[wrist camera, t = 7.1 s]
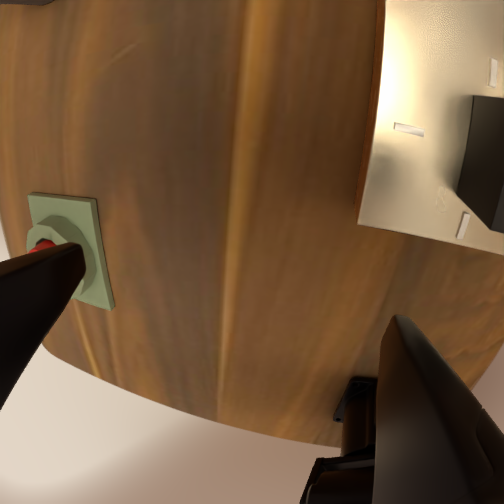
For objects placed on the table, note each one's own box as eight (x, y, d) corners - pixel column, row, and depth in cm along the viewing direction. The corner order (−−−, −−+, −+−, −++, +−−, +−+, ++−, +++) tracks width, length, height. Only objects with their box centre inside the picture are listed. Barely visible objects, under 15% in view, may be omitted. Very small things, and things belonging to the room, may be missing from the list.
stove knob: (485, 203, 12) (524, 241, 9) (456, 195, 13) (491, 233, 9) (504, 106, 10) (554, 116, 6) (474, 94, 10) (521, 99, 7)
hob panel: (508, 239, 15) (530, 263, 13) (353, 204, 17) (356, 226, 15) (542, 32, 9) (570, 29, 6) (377, -32, 10) (385, -54, 8)
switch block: (115, 306, 26) (100, 323, 24) (54, 286, 28) (39, 300, 26) (96, 199, 21) (74, 211, 19) (32, 192, 23) (12, 202, 21)
